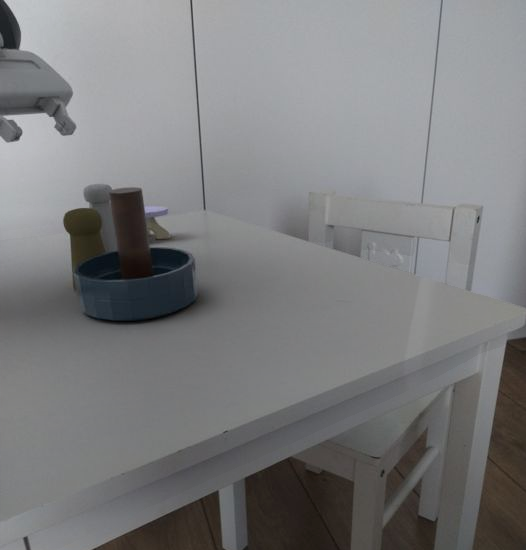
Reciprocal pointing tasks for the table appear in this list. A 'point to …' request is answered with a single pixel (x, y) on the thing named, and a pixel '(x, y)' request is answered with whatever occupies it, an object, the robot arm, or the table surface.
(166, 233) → the toy table
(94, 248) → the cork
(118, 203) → the brown wooden cylinder
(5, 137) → the robot arm
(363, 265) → the table surface
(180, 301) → the bowl
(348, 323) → the table surface
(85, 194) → the salt shaker
